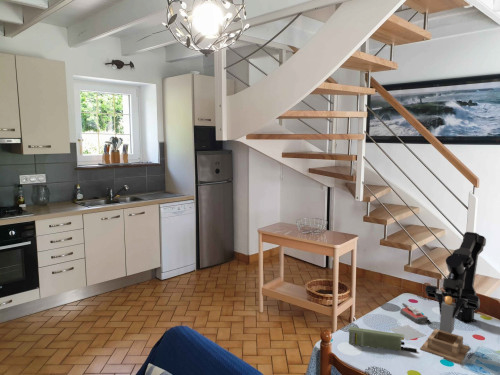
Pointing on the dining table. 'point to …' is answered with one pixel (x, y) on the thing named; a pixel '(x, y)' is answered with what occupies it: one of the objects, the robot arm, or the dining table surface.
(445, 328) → the connector plug
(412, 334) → the mat
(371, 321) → the dining table surface
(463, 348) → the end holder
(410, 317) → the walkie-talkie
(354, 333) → the handheld radio
